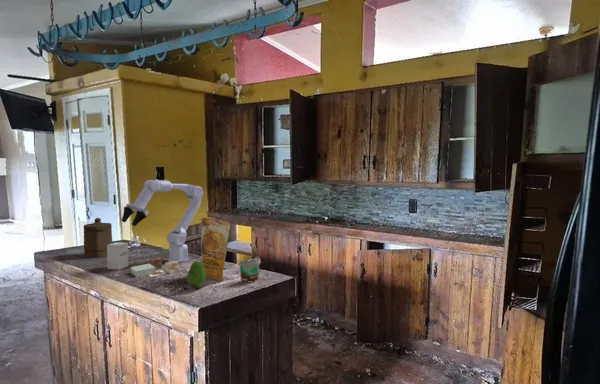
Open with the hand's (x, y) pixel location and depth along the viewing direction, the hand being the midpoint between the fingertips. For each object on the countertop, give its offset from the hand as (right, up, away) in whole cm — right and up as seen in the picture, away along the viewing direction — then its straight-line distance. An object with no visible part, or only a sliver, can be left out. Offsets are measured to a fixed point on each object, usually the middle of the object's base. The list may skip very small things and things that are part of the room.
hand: (128, 223), depth 186 cm
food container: (+64, -26, -13) cm, 71 cm away
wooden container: (-33, -22, +34) cm, 52 cm away
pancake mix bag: (+45, -25, -8) cm, 52 cm away
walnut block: (+12, -24, +6) cm, 27 cm away
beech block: (+22, -24, -1) cm, 33 cm away
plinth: (+9, -24, -4) cm, 26 cm away
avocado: (+41, -26, -24) cm, 54 cm away
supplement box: (-8, -24, +7) cm, 26 cm away
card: (+16, -25, -4) cm, 29 cm away
